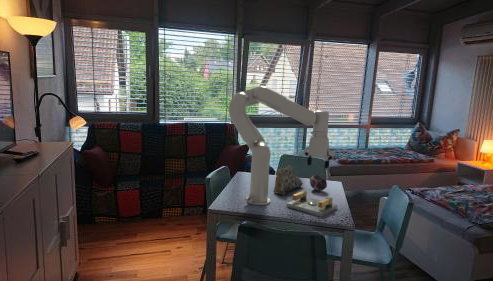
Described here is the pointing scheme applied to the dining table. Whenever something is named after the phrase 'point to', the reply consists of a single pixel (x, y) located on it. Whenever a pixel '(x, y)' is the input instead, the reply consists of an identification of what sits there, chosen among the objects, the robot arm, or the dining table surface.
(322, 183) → the mineral specimen
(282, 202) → the dining table surface
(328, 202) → the knob
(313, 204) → the levelling base
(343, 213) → the dining table surface
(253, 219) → the dining table surface
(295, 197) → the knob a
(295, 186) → the rock
